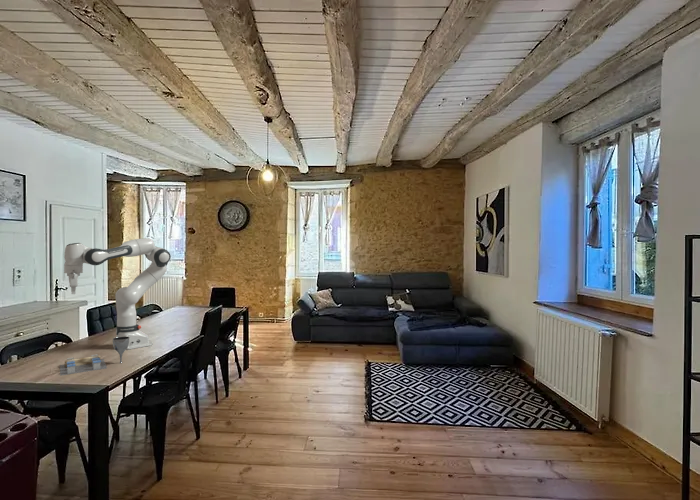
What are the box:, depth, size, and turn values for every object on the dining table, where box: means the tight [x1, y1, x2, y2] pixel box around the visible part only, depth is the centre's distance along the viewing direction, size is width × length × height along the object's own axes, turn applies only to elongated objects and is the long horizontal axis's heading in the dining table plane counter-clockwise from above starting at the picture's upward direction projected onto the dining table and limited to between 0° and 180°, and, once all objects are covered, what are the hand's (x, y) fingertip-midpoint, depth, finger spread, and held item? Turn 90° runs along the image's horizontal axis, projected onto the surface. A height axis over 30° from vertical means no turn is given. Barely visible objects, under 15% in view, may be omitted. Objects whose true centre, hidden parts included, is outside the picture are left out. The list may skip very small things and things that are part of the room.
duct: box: [59, 353, 108, 377], centre depth 203 cm, size 20×21×5 cm
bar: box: [64, 355, 101, 367], centre depth 207 cm, size 16×3×3 cm, turn 128°
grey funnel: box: [112, 336, 129, 364], centre depth 210 cm, size 8×8×15 cm
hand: (73, 293), depth 222 cm, fingers open, 8 cm apart
